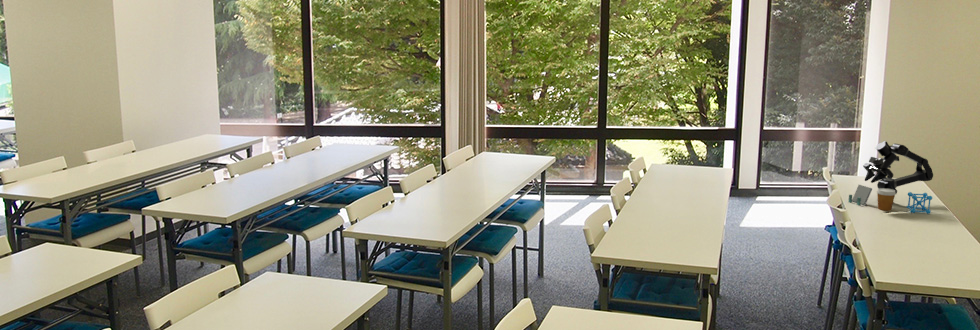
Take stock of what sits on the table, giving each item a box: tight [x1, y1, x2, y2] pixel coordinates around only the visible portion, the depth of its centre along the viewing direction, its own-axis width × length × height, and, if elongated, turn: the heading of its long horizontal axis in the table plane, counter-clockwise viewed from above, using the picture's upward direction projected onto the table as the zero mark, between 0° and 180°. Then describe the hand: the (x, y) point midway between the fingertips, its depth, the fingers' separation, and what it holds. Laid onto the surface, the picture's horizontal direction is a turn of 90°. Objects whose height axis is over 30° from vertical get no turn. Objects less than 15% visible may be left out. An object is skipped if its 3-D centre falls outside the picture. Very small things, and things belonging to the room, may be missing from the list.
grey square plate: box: [851, 184, 873, 206], centre depth 439 cm, size 1×10×11 cm, turn 15°
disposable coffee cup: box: [876, 188, 897, 214], centre depth 425 cm, size 10×10×12 cm
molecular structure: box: [906, 191, 933, 215], centre depth 425 cm, size 10×10×10 cm
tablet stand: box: [847, 194, 869, 207], centre depth 440 cm, size 10×13×6 cm
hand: (868, 181), depth 438 cm, fingers open, 5 cm apart
